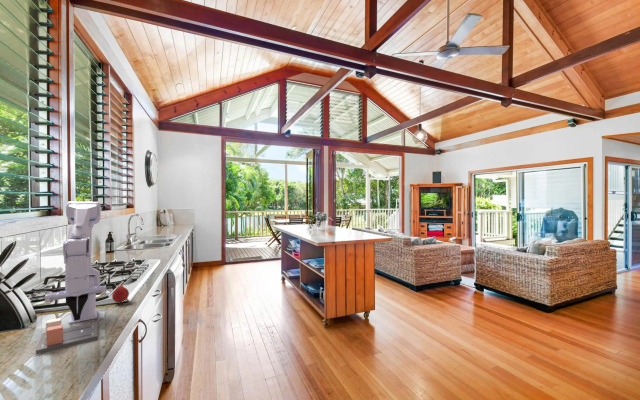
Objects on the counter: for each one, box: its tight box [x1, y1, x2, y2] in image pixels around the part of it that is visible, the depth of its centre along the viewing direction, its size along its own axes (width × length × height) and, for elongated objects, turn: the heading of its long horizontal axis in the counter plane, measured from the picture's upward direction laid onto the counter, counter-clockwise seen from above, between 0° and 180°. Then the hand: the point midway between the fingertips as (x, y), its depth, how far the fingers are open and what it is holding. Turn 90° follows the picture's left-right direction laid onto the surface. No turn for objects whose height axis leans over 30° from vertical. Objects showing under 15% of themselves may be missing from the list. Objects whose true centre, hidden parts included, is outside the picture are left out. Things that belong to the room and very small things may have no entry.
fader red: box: [47, 324, 64, 346], centre depth 86 cm, size 3×3×5 cm
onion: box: [111, 284, 130, 303], centre depth 121 cm, size 6×6×8 cm
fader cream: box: [45, 317, 62, 338], centre depth 91 cm, size 3×3×5 cm
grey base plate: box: [35, 321, 98, 355], centre depth 91 cm, size 13×14×1 cm
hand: (77, 319), depth 89 cm, fingers closed
